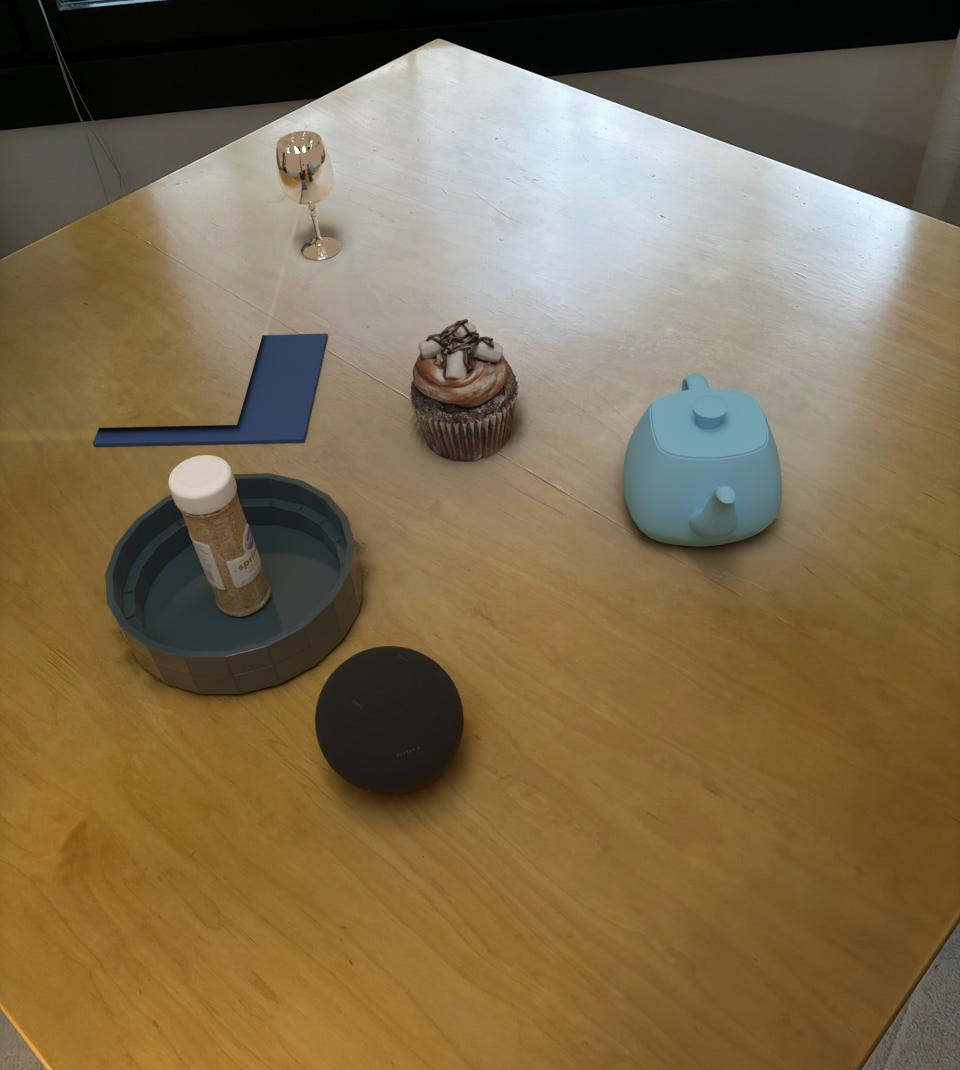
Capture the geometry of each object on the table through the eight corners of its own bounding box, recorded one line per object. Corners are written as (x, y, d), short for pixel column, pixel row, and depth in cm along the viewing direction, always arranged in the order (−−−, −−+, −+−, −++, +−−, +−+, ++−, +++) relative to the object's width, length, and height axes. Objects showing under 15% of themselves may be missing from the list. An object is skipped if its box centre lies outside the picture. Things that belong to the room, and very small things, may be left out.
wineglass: (357, 242, 119) (338, 135, 109) (325, 268, 116) (303, 161, 107) (316, 229, 121) (294, 123, 112) (284, 255, 118) (259, 149, 109)
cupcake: (393, 438, 98) (377, 346, 90) (466, 384, 102) (457, 292, 94) (469, 483, 94) (460, 391, 86) (542, 426, 98) (539, 333, 90)
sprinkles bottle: (275, 612, 85) (233, 488, 75) (218, 624, 85) (167, 502, 74) (269, 571, 88) (228, 446, 78) (213, 582, 88) (165, 459, 77)
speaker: (379, 682, 81) (359, 596, 73) (494, 734, 77) (485, 649, 69) (301, 784, 76) (270, 702, 68) (420, 845, 72) (402, 766, 64)
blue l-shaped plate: (93, 447, 100) (92, 443, 100) (135, 342, 110) (134, 338, 110) (304, 442, 98) (303, 439, 98) (328, 336, 108) (327, 333, 108)
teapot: (642, 502, 76) (617, 346, 87) (635, 601, 84) (613, 447, 95) (822, 491, 75) (774, 336, 86) (797, 592, 83) (756, 438, 95)
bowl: (98, 697, 82) (75, 657, 78) (157, 517, 94) (139, 475, 90) (347, 697, 80) (336, 656, 76) (375, 514, 92) (366, 471, 88)
